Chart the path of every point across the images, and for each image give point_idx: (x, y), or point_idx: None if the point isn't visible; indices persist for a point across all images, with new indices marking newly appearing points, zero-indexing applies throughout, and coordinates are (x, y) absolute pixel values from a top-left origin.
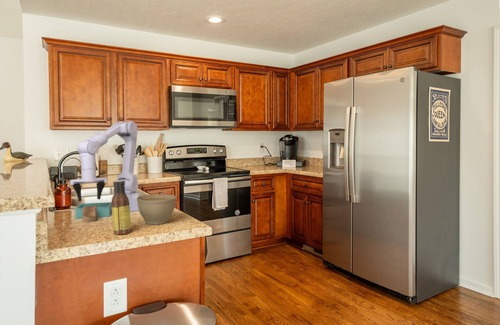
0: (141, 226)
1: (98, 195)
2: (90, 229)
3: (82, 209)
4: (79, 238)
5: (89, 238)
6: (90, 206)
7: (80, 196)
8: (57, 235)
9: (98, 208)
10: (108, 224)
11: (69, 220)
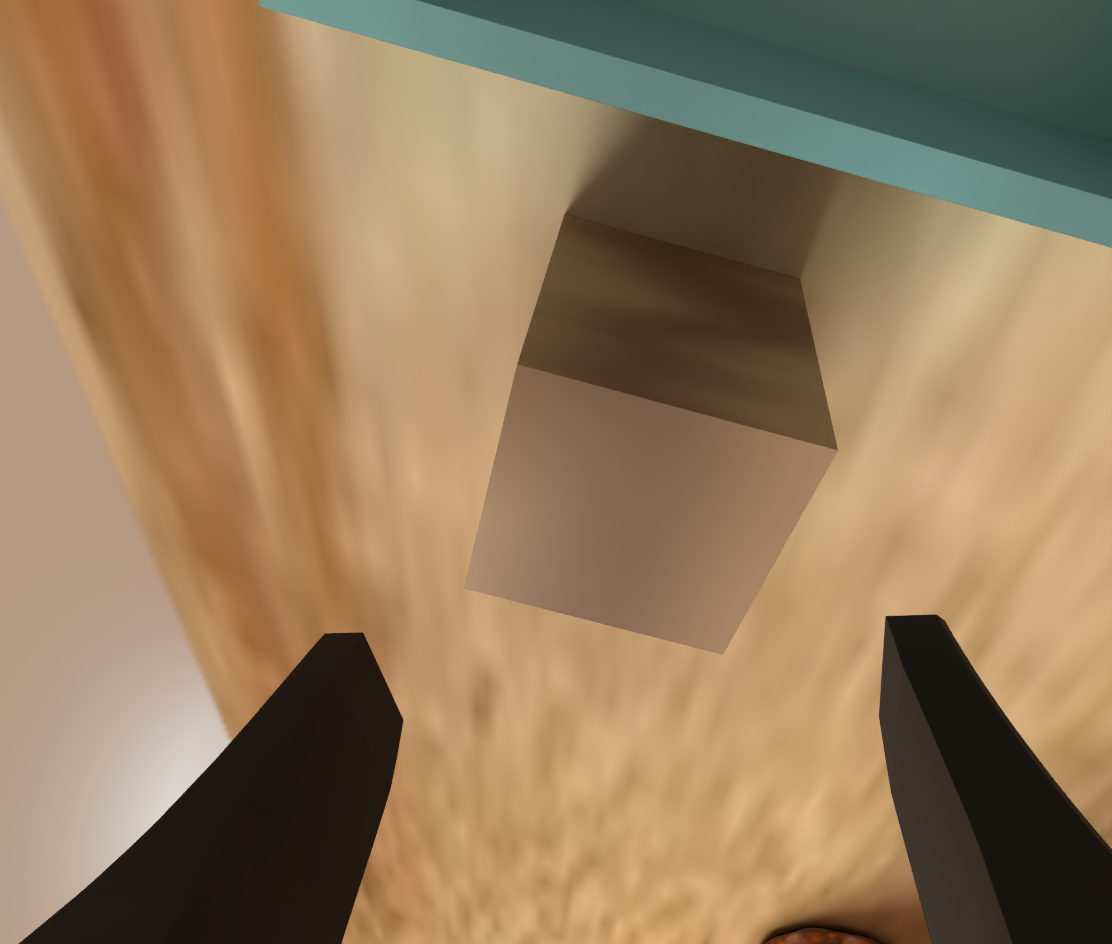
0: None
1: (910, 816)
2: (586, 764)
3: (470, 575)
4: (479, 909)
5: (551, 937)
6: (660, 460)
7: (346, 871)
8: None
9: (931, 183)
10: (831, 691)
11: (261, 112)
